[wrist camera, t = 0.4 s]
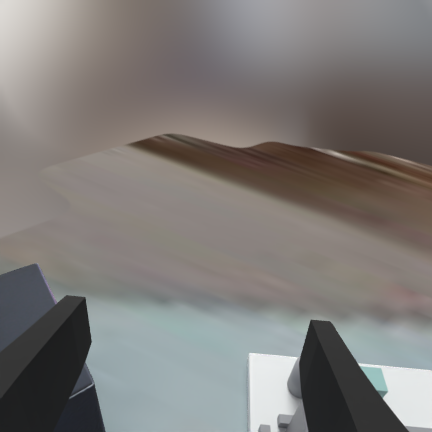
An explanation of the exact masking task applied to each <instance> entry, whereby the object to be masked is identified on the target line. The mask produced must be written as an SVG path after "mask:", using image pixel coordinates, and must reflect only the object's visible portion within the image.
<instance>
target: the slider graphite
mask: <svg viewBox="0 0 432 432" xmlns="http://www.w3.org/2000/svg"><path fill="white" fill-rule="evenodd" d="M285 432H308V427H307V422H306V417H305V412H304V406H303V401H301V402H300V404H299V406H298V408H297V410H296V412H295V414H294V416H293V418H292V420H291V422H290V424H289V425H288V427H287V429H286V431H285Z"/></svg>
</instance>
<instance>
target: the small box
mask: <svg viewBox="0 0 432 432" xmlns="http://www.w3.org/2000/svg"><path fill="white" fill-rule="evenodd" d="M56 304H57V301H56V299H55V297H54V295H53V293H52V291H51V289H50V287H49V285H48V283H47V281H46V279H45V277H44V275H43V273H42V271H41V269H40V267H39V265H38V264H37V263H35V264H32V265H29V266H26V267H22V268H19V269H17V270H14V271H11V272H8V273H5V274H2V275H0V352H1V351H2V350H3V349H4V348H6V347H7V346H8V345H9V344H10V343H12V342H13V341H14V340H15V339H16V338H18V337H19V336H20V335H21V334H22V333H24V332H25V331H26V330H27V329H28V328H29V327H31V326H32V325H33V324H34V323H35V322H36V321H38V320H39V319H40V318H41V317H42V316H43V315H44V314H46V313H47V312H48V311H49V310H50V309H51V308H52V307H53V306H55V305H56ZM53 432H105V427H104V424H103V419H102V415H101V411H100V406H99V402H98V397H97V393H96V389H95V384H94V380H93V378H92V376H91V374H90V371H89V369H88V367H87V365H86V363H84V366H83V369H82V372H81V374H80V376H79V379H78V381H77V383H76V385H75V387H74V389H73V391H72V393H71V395H70V398H69V400H68V402H67V404H66V406H65V408H64V410H63V412H62V414H61V416H60V418H59V420H58V423H57V425H56V427H55V429H54V431H53Z"/></svg>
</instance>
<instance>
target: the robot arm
mask: <svg viewBox="0 0 432 432" xmlns="http://www.w3.org/2000/svg"><path fill="white" fill-rule="evenodd" d="M91 342H92V341H91V334H90V327H89V320H88V313H87V306H86V299H85V297H78V296H68V295H66V296H65V297H64V298H63V299H62V300H60V301H59V302H58V303H57V304H56V305H55V306H53V307H52V308H51V309H50V310H49V311H48V312H47V313H46V314H44V315H43V316H42V317H41V318H40V319H39V320H38V321H36V322H35V323H34V324H33V325H32V326H31V327H29V328H28V329H27V330H26V331H25V332H24V333H22V334H21V335H20V336H19V337H18V338H16V339H15V340H14V341H13V342H12V343H10V344H9V345H8V346H7V347H6V348H4V349H3V350H2V351H1V352H0V432H53V431H54V429H55V427H56V425H57V423H58V420H59V418H60V416H61V414H62V412H63V410H64V408H65V406H66V404H67V402H68V400H69V398H70V395H71V393H72V391H73V389H74V387H75V385H76V383H77V381H78V379H79V376H80V374H81V372H82V369H83V366H84V363H85V361H86V358H87V355H88V352H89V348H90V345H91ZM299 372H300V385H301V395H302V401H303V406H304V412H305V417H306V422H307V427H308V432H409V431H408V430H407V428H406V427H405V426H404V425H403V423H402V422H401V421H400V420H399V419H398V417H397V416H396V415H395V414H394V412H393V411H392V410H391V408H390V407H389V406H388V405H387V403H386V402H385V401H384V399H383V398H382V397H381V395H380V394H379V393H378V391H377V390H376V389H375V387H374V386H373V384H372V383H371V382H370V380H369V379H368V377H367V376H366V375H365V373H364V372H363V370H362V369H361V367H360V366H359V364H358V363H357V362H356V360H355V359H354V357H353V356H352V354H351V352H350V351H349V349H348V348H347V346H346V345H345V343H344V342H343V340H342V339H341V337H340V335H339V334H338V332H337V331H336V329H335V327H334V326H333V324H332V323H331V322H330V321H319V320H311V321H310V325H309V328H308V332H307V335H306V339H305V343H304V346H303V350H302V353H301V357H300V361H299Z"/></svg>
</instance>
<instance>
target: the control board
mask: <svg viewBox="0 0 432 432" xmlns="http://www.w3.org/2000/svg"><path fill="white" fill-rule="evenodd" d="M297 359H298V357H287V356H277V355H267V354H256V353H249V355H248V359H247V388H248V432H285V431H286V429H287V427H288V425H289V424H290V422H291V420H292V418H293V416H294V414H295V412H296V410H297V408H298V406H299V404H300V402H301V401H302V399H301V398H297V397H295V396H294V395H292V394H291V392H290V391H289V389H288V386H287V381H288V378H289V376H290V374H291V371H292V369H293V367H294V364H295V362H296V360H297ZM358 364H359V366H363V367H374V368H381V370H382V373H383V376H384V379H385V382H386V385H387V389H388V392H387V394H386V395H385V396H384V397H383V399H384V401H385V402H386V403H387V405H388V406H389V407H390V408H391V410H392V411H393V412H394V414H395V415H396V416H397V417H398V419H399V420H400V421H401V422H402V423H403V425H404V426H405V427H406V428H407V430H408V431H409V432H432V370H422V369H411V368H401V367H391V366H380V365H370V364H360V363H358Z"/></svg>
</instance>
